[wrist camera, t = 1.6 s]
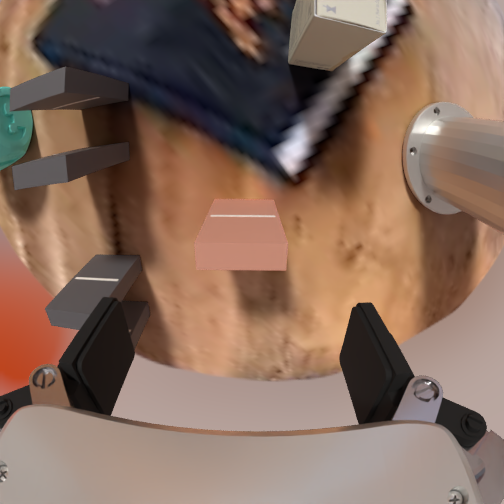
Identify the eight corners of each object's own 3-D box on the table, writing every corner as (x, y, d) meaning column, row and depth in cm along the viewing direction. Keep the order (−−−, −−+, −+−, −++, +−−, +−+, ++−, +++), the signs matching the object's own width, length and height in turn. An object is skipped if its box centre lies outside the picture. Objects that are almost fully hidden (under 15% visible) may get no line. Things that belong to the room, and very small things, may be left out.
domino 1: (81, 93, 22) (10, 88, 12) (128, 83, 22) (65, 66, 12) (81, 109, 23) (9, 111, 13) (128, 100, 23) (64, 92, 13)
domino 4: (106, 299, 32) (66, 359, 22) (147, 301, 32) (115, 368, 22) (109, 311, 33) (73, 372, 23) (150, 314, 33) (120, 382, 23)
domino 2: (82, 148, 25) (11, 166, 15) (128, 141, 25) (65, 154, 15) (83, 165, 25) (14, 190, 15) (129, 160, 25) (67, 182, 15)
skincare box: (332, 72, 22) (389, 39, 11) (285, 64, 22) (312, 19, 11) (335, 17, 20) (386, -37, 9) (290, 9, 20) (316, -57, 8)
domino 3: (96, 254, 30) (44, 308, 20) (139, 255, 30) (96, 314, 20) (99, 268, 30) (51, 325, 20) (141, 270, 30) (102, 333, 20)
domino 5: (214, 198, 27) (194, 242, 17) (273, 199, 27) (288, 243, 17) (214, 217, 28) (196, 269, 18) (272, 217, 28) (286, 270, 18)
